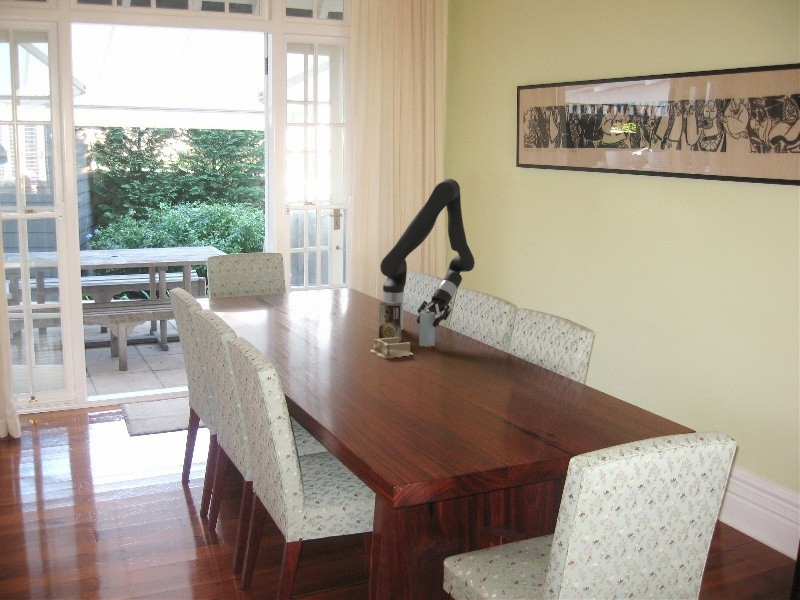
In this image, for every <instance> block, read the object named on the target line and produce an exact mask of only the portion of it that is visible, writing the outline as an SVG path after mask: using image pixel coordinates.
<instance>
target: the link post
mask: <svg viewBox="0 0 800 600" xmlns="http://www.w3.org/2000/svg"><path fill="white" fill-rule="evenodd" d="M419 315H420V324H419V334H418V335H419V341H418V346H419V345H423V346H430V345H434V346H435V344H436V341H435V339H436V338H435V337H436V327H434V326H433V322H434V321H435V319H436V317H437V315H436V313H433V312H431V311H429V310H427V311H425V312H421V313H420V314H419Z"/></svg>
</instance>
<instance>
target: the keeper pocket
mask: <svg viewBox="0 0 800 600" xmlns="http://www.w3.org/2000/svg"><path fill="white" fill-rule="evenodd" d="M372 340H373V344H372V345H373V347H372V349H369V353H371V352H372V354H373V353H374V354H373V355H374V356H377V357H379V358H381V359H383V360H386V359H387V358H389V359H395V358H394V357H398V358H403V357H402V356H407V357H410V356H409V355H413V356H414V353H413V352H411V342H409V341H407V342H400V343H399V337H393V338H382V339H379V338H373V339H372Z"/></svg>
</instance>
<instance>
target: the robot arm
mask: <svg viewBox="0 0 800 600" xmlns="http://www.w3.org/2000/svg"><path fill="white" fill-rule="evenodd" d="M461 199H462V198H461V187H460V185H459V183H458V182H457V180H455V179H453V178H446V179H443V180H440V181H439V182H438V183H437V184H436V185H435V186H434V188H433V190H432V192H431V193H430V196H429V198H428V199H427V200H426V202H425V204H424V205H423V206H422V207H421V209H420V210H419V211H418V212H417V214H415V217H413V218H412V220H411V221H410V223H409V224H408V226H406V229H405V230H404V232H403V233H402V235H401V236H400V238H399V239H398V241H397V242H396V243H395V245H394V246H393V247H392V249H390V251H389V252H388V253H387V254H385V257H384V258H383V259H382V261H381V262H380V265H379V266H380V268H379V269H380V272H381V273H382V275H383V276H384V277H386V278H387V279H386V281H385V282H384V284H383V285H382V302H397V303H402V320H401V331H402V330H403V329H404V327H403V325H404V324H403V322H404V300H405V299H404V297H405V295H404V294H405V286H406V283H407V273H408V271H407V270H408V266H407V261H406V259H407V257H408V256H409V255H410V254H411V253H412V252H414V251H415V250H416V249H417V248H419V246H420V245H422V243H423V242H425V240H426V239H427V238H428V236H429V235H430V233H431V232H432V230H433V228H434V227H435V225H436V221H437V220H438V219H437V218H438V217H439V215H440V214H441V213H442V211H443V210H444V209H445V208H446V211H447V235H448V238H449V239H448V240H449V244H450V248H451V250H452V251H454V252H457V254H458V255H455V256H454V257H453V258H451V260H450V261H449V264H448V268H447V272H446V274H445V276H444V278H443V279H442V281H441V282H440V284H439V285H438V286H437V288H436V290H435V292H433V295H432V296H431V301H429V302H427V301H426V300H423V301H422V303H421V305H420V306H419V307H418V309H417V313H418V314H419V315H418V317H416V322H417V324H418V325H420V313H421V312H425V311H431V312H433V313H436V318H435V321H434V322H433V326H434V327H435V328H437V327H438V326H439V325H440V323H441V321H443V320H444V321H447V319H448V318H449V316H450V313H451V312H452V307H451V306H450V303H451V301H452V299H453V297H454V296H455V295H456V293H457V290H458V289H459V287H460V285H461V283H462V282H463V277H462V275H461V273H462V272H463V273H464V272H465V273H466V272H468V273H469V272H471V271H472V270H474V268H475V265H476V264H475V257H474V256H473V253H472V251H471V249H470V246H469V244H468V242H467V237H466V232H465V228H464V227H465V226H464V222H463V221H464V220H463V213H462V203H461V201H462V200H461Z"/></svg>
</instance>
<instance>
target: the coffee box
mask: <svg viewBox="0 0 800 600" xmlns="http://www.w3.org/2000/svg"><path fill="white" fill-rule="evenodd" d="M378 309H379V310H378V316H379V317H378V321H379V322H378V339H382V338H393V337H399V342H400V343H401V341H402V330H401V320H402V303H397V302H383V301H380V303H379V307H378Z"/></svg>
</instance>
